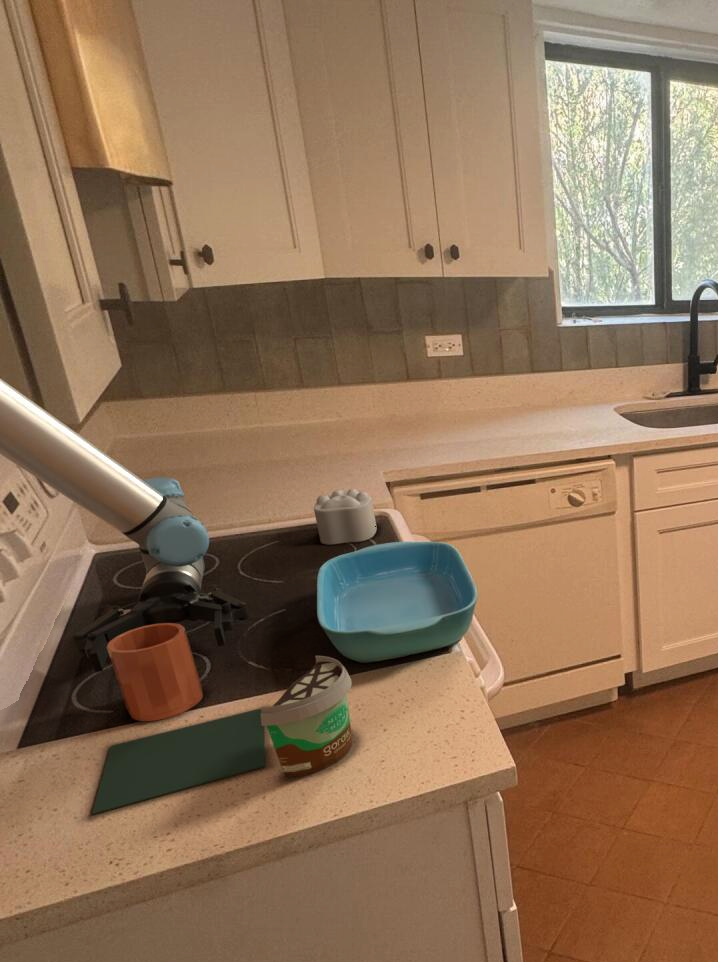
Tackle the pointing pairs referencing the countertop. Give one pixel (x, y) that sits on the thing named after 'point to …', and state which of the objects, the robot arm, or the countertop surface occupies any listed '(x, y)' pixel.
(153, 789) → the mat
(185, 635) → the cup
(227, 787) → the countertop surface
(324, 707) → the food container
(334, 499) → the lumpy-topped squat cylinder
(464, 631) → the casserole dish
